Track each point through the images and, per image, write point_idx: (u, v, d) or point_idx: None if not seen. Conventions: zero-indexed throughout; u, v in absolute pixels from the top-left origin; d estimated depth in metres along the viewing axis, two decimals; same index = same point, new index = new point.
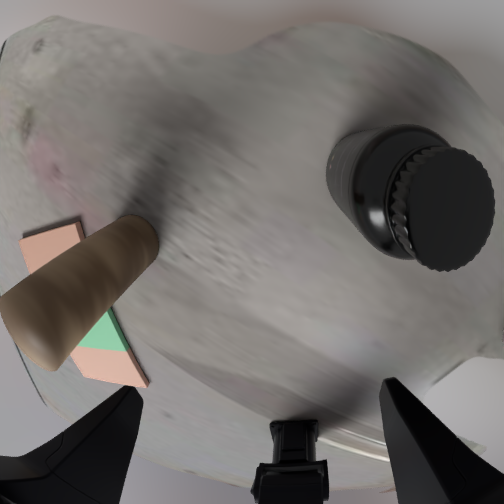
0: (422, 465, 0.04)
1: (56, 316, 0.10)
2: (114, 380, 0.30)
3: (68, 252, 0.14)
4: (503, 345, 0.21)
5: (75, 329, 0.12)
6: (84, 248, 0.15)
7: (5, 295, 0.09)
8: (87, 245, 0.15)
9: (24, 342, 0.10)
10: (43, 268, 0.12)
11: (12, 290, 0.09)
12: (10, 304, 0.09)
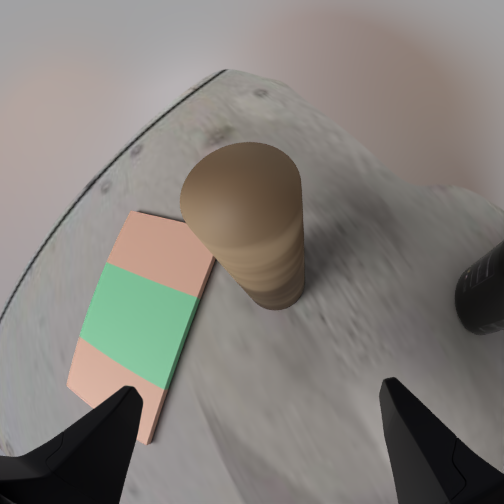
0: (422, 465, 0.04)
1: None
2: None
3: None
4: None
5: (294, 235, 0.11)
6: None
7: (255, 143, 0.11)
8: None
9: (213, 195, 0.11)
10: None
11: None
12: (255, 152, 0.11)
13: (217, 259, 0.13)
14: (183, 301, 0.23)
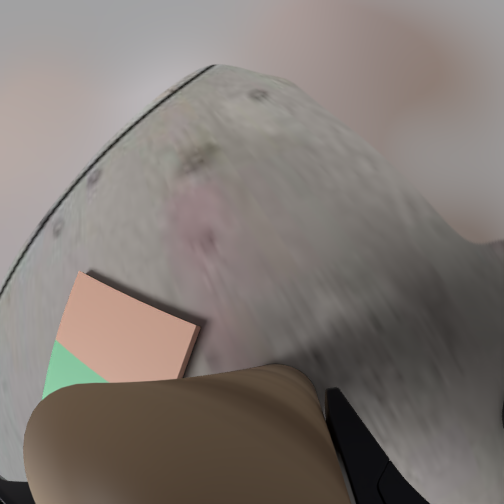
0: (347, 484, 0.04)
1: None
2: None
3: (285, 381, 0.07)
4: None
5: None
6: (304, 389, 0.08)
7: (190, 414, 0.02)
8: (301, 385, 0.08)
9: None
10: (271, 389, 0.05)
11: (229, 412, 0.02)
12: (193, 464, 0.02)
13: None
14: None
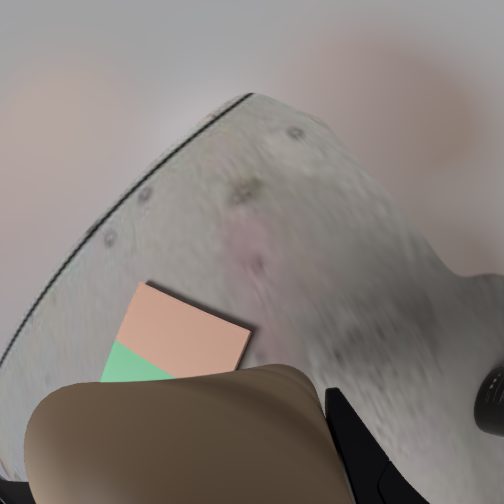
0: (347, 484, 0.04)
1: None
2: None
3: (286, 381, 0.07)
4: None
5: None
6: (304, 389, 0.08)
7: (192, 413, 0.02)
8: (302, 385, 0.08)
9: None
10: (272, 388, 0.05)
11: (231, 411, 0.02)
12: (194, 463, 0.02)
13: None
14: None
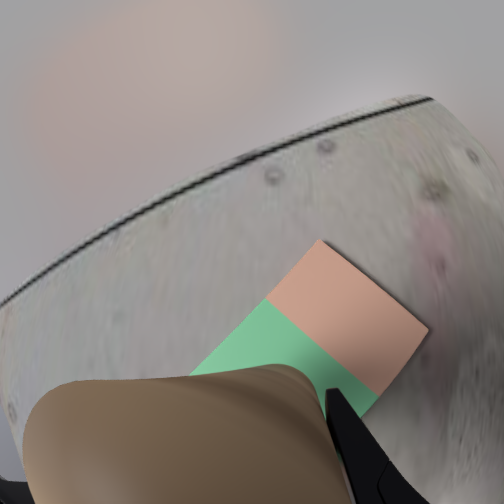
0: (347, 484, 0.04)
1: None
2: None
3: (285, 380, 0.07)
4: None
5: None
6: (304, 388, 0.08)
7: (189, 411, 0.02)
8: (301, 384, 0.08)
9: None
10: (271, 387, 0.05)
11: (229, 409, 0.02)
12: (192, 462, 0.02)
13: None
14: (362, 396, 0.17)
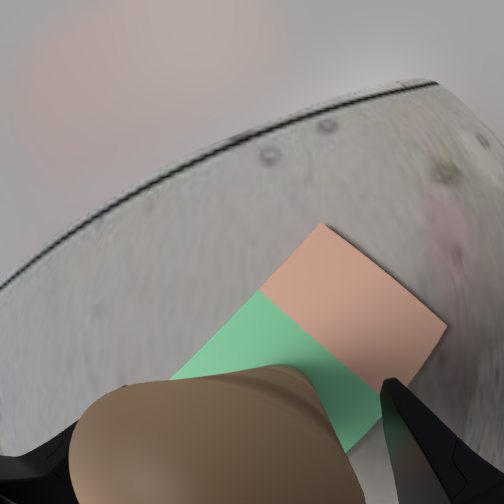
0: (423, 465, 0.04)
1: None
2: None
3: (291, 378, 0.08)
4: None
5: None
6: (307, 385, 0.09)
7: (238, 398, 0.03)
8: (304, 382, 0.09)
9: None
10: (283, 383, 0.06)
11: (262, 397, 0.03)
12: (239, 438, 0.03)
13: None
14: (372, 404, 0.14)
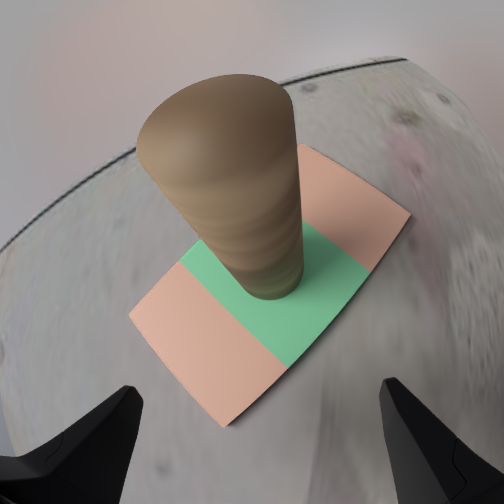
0: (422, 465, 0.04)
1: None
2: (180, 371, 0.18)
3: None
4: None
5: (286, 181, 0.08)
6: None
7: (235, 74, 0.08)
8: None
9: (178, 128, 0.07)
10: None
11: None
12: (235, 82, 0.08)
13: (186, 220, 0.10)
14: (353, 270, 0.19)
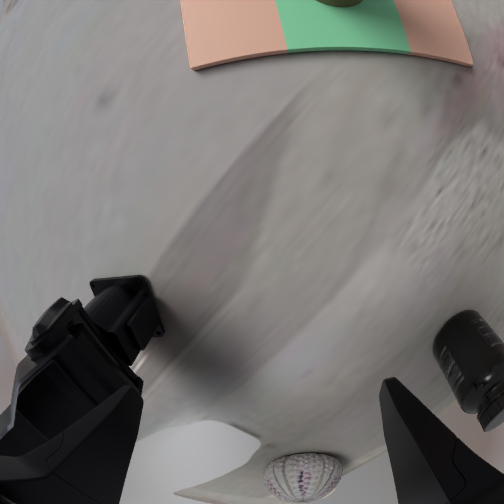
0: (422, 465, 0.04)
1: None
2: (189, 8, 0.13)
3: None
4: (280, 463, 0.31)
5: None
6: None
7: None
8: None
9: None
10: None
11: None
12: None
13: None
14: (398, 37, 0.12)
